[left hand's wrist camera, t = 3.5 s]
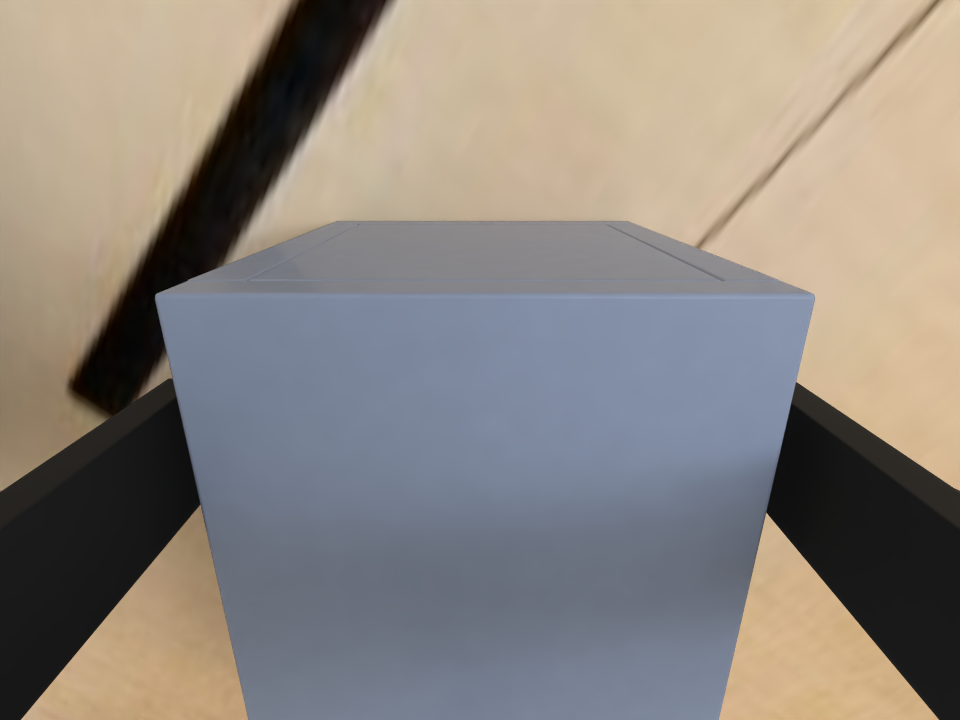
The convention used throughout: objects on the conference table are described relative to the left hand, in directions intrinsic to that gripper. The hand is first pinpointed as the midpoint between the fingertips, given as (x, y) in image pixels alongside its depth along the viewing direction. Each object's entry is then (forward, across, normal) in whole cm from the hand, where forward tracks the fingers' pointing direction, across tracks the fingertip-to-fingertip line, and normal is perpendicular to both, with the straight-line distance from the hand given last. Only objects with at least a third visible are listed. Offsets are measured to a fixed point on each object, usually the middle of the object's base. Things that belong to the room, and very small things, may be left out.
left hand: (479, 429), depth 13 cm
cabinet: (+8, 0, -4) cm, 9 cm away
